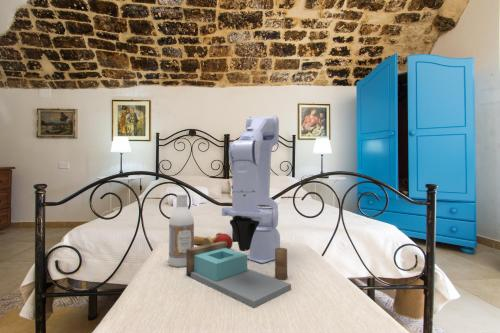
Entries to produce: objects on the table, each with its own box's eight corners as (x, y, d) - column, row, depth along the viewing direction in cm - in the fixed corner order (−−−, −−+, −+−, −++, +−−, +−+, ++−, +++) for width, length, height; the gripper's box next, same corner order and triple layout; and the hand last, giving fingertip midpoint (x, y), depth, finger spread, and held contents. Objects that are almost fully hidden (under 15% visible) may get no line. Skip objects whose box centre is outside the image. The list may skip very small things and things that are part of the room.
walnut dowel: (280, 274, 71) (280, 247, 71) (289, 277, 69) (289, 249, 69) (272, 277, 69) (272, 249, 69) (282, 280, 67) (282, 251, 67)
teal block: (224, 262, 77) (224, 247, 77) (247, 270, 71) (247, 254, 71) (194, 271, 70) (194, 255, 70) (216, 281, 63) (216, 263, 64)
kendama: (185, 250, 98) (220, 252, 87) (186, 232, 100) (221, 232, 88) (202, 250, 104) (237, 252, 92) (203, 232, 105) (237, 232, 94)
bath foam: (172, 269, 75) (172, 195, 75) (166, 262, 81) (167, 193, 81) (196, 265, 78) (197, 194, 79) (189, 258, 84) (190, 192, 85)
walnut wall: (222, 264, 79) (222, 241, 79) (227, 265, 78) (227, 242, 78) (186, 275, 70) (186, 249, 71) (190, 277, 69) (190, 250, 69)
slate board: (222, 264, 79) (222, 260, 79) (291, 289, 62) (290, 284, 62) (186, 275, 70) (186, 270, 71) (253, 307, 54) (253, 301, 54)
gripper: (212, 190, 67) (211, 247, 67) (255, 194, 57) (255, 260, 56) (233, 189, 72) (233, 241, 72) (277, 192, 61) (277, 253, 61)
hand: (244, 249), depth 64 cm, fingers closed
